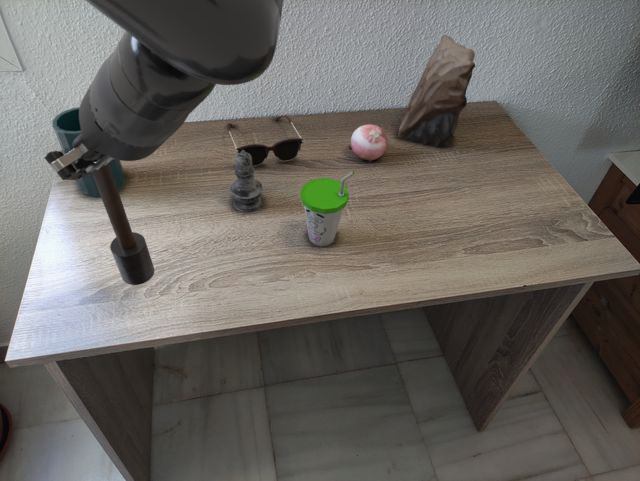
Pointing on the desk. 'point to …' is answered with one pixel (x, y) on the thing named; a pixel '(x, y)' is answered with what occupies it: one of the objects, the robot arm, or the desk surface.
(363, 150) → the pink round piece
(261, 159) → the sunglasses
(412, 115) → the brown rock
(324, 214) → the cup
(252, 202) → the chess piece
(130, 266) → the brush
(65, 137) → the pencil holder
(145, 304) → the desk surface
